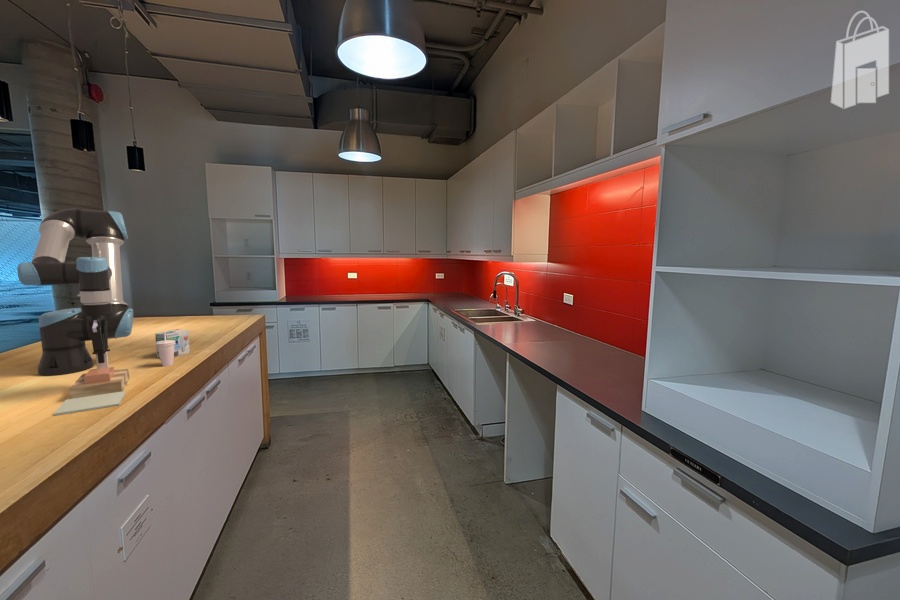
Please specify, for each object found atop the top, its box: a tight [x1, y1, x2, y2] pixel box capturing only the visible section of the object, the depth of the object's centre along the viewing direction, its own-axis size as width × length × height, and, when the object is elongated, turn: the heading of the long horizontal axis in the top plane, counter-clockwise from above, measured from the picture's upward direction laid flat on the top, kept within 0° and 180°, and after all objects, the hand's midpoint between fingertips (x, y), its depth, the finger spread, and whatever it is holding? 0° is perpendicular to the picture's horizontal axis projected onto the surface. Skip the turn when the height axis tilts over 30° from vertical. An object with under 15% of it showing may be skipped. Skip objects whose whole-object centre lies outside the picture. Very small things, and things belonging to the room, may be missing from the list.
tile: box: [84, 366, 115, 384], centre depth 124 cm, size 8×6×2 cm
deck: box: [69, 368, 130, 399], centre depth 125 cm, size 16×12×4 cm
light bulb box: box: [154, 328, 190, 359], centre depth 166 cm, size 11×7×11 cm, turn 167°
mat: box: [53, 390, 127, 417], centre depth 114 cm, size 12×14×1 cm
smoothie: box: [155, 331, 175, 367], centre depth 152 cm, size 6×6×14 cm
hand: (103, 371), depth 128 cm, fingers closed
